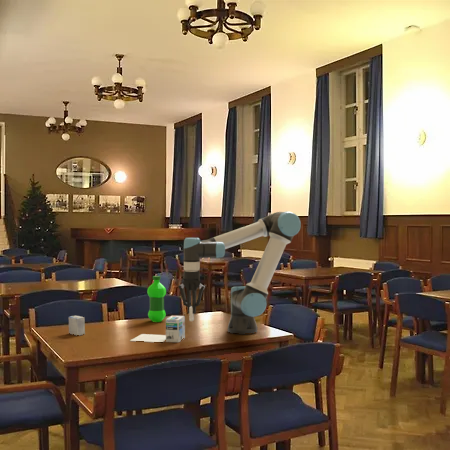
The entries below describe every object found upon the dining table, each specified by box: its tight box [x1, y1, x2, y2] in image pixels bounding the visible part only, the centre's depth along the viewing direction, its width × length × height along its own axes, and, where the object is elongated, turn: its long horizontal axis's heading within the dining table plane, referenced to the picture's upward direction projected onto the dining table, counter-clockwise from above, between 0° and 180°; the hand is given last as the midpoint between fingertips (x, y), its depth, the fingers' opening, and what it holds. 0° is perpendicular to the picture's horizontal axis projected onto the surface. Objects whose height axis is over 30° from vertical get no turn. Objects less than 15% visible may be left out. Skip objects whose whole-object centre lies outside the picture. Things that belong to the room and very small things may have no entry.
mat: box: [129, 333, 166, 343], centre depth 276 cm, size 16×15×1 cm
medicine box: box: [68, 315, 86, 336], centre depth 286 cm, size 8×4×9 cm, turn 47°
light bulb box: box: [165, 315, 186, 343], centre depth 273 cm, size 11×7×11 cm, turn 168°
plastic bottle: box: [146, 275, 167, 323], centre depth 319 cm, size 10×10×25 cm
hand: (191, 320), depth 270 cm, fingers closed
